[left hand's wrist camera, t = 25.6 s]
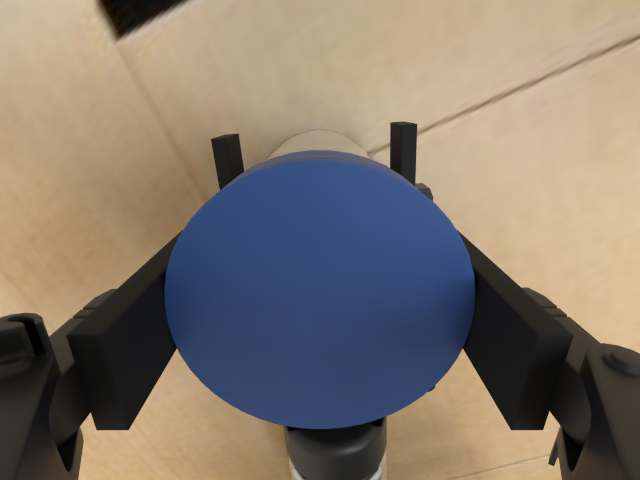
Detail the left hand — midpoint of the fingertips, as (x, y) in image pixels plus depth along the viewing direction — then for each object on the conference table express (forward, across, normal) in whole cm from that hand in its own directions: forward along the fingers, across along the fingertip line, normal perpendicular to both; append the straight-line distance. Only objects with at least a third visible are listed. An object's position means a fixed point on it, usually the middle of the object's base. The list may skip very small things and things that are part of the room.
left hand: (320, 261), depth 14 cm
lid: (-4, 0, 0) cm, 4 cm away
